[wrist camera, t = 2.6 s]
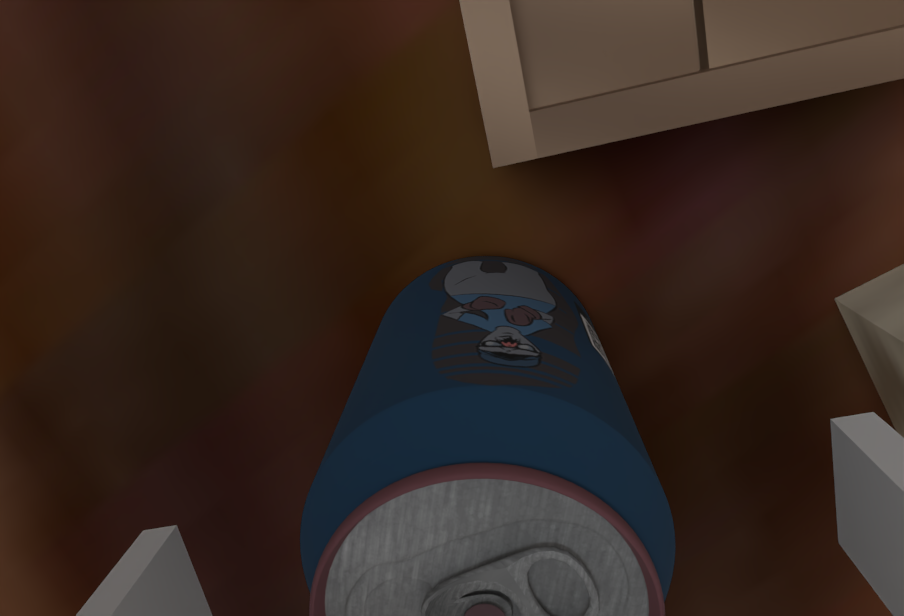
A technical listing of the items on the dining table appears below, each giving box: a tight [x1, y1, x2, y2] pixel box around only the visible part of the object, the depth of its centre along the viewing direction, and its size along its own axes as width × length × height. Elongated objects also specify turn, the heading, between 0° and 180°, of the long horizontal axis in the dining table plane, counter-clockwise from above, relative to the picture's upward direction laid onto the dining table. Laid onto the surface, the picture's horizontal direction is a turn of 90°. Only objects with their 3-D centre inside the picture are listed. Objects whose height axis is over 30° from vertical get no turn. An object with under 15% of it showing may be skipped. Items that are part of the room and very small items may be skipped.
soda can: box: [300, 256, 675, 616], centre depth 17 cm, size 7×7×12 cm
